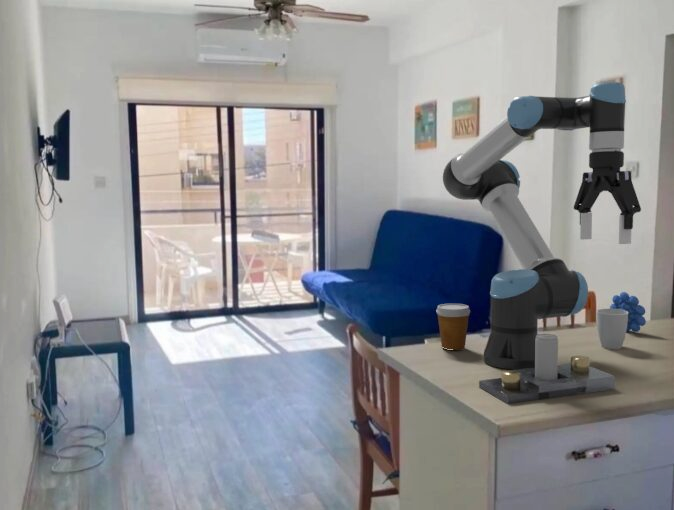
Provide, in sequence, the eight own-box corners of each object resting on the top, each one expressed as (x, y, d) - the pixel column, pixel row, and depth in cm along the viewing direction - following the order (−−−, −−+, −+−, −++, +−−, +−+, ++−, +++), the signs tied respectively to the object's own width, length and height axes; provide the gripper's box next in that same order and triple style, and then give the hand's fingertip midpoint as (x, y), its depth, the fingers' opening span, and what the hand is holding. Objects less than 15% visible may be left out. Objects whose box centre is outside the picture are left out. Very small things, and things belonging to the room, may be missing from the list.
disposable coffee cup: (476, 350, 178) (476, 308, 177) (445, 354, 176) (445, 310, 174) (460, 342, 187) (460, 302, 186) (430, 345, 185) (430, 304, 183)
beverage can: (560, 391, 143) (560, 338, 142) (538, 391, 143) (538, 338, 142) (553, 384, 148) (554, 333, 146) (532, 384, 148) (532, 333, 147)
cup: (629, 345, 180) (630, 310, 179) (624, 352, 174) (625, 315, 173) (598, 342, 185) (599, 307, 184) (593, 348, 178) (593, 312, 177)
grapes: (601, 329, 199) (602, 291, 198) (614, 326, 203) (615, 289, 202) (636, 336, 190) (637, 296, 188) (649, 333, 193) (650, 294, 192)
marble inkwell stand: (479, 387, 147) (479, 361, 146) (579, 374, 155) (579, 349, 154) (507, 403, 136) (508, 376, 135) (614, 389, 144) (615, 362, 143)
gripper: (660, 147, 140) (657, 244, 142) (585, 153, 164) (583, 236, 166) (631, 147, 138) (629, 246, 140) (559, 153, 162) (558, 238, 164)
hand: (604, 241), depth 153 cm, fingers open, 13 cm apart
